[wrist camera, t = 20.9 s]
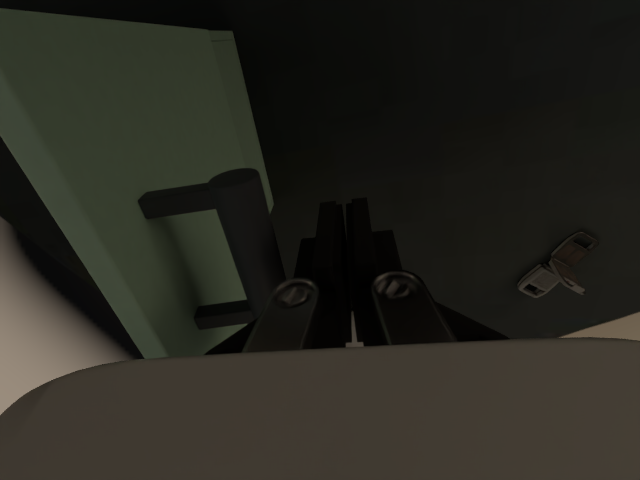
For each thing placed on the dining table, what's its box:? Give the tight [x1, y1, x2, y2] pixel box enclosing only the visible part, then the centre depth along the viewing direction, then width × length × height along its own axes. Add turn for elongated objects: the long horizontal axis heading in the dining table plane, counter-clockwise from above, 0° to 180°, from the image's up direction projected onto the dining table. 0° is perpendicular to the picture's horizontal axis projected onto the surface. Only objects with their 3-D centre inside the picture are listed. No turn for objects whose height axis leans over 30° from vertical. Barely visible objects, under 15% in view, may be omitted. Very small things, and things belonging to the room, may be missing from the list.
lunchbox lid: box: [0, 8, 286, 359], centre depth 17 cm, size 17×15×5 cm
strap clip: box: [517, 232, 599, 298], centre depth 34 cm, size 8×3×4 cm, turn 152°
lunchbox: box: [209, 31, 274, 213], centre depth 28 cm, size 16×15×6 cm
